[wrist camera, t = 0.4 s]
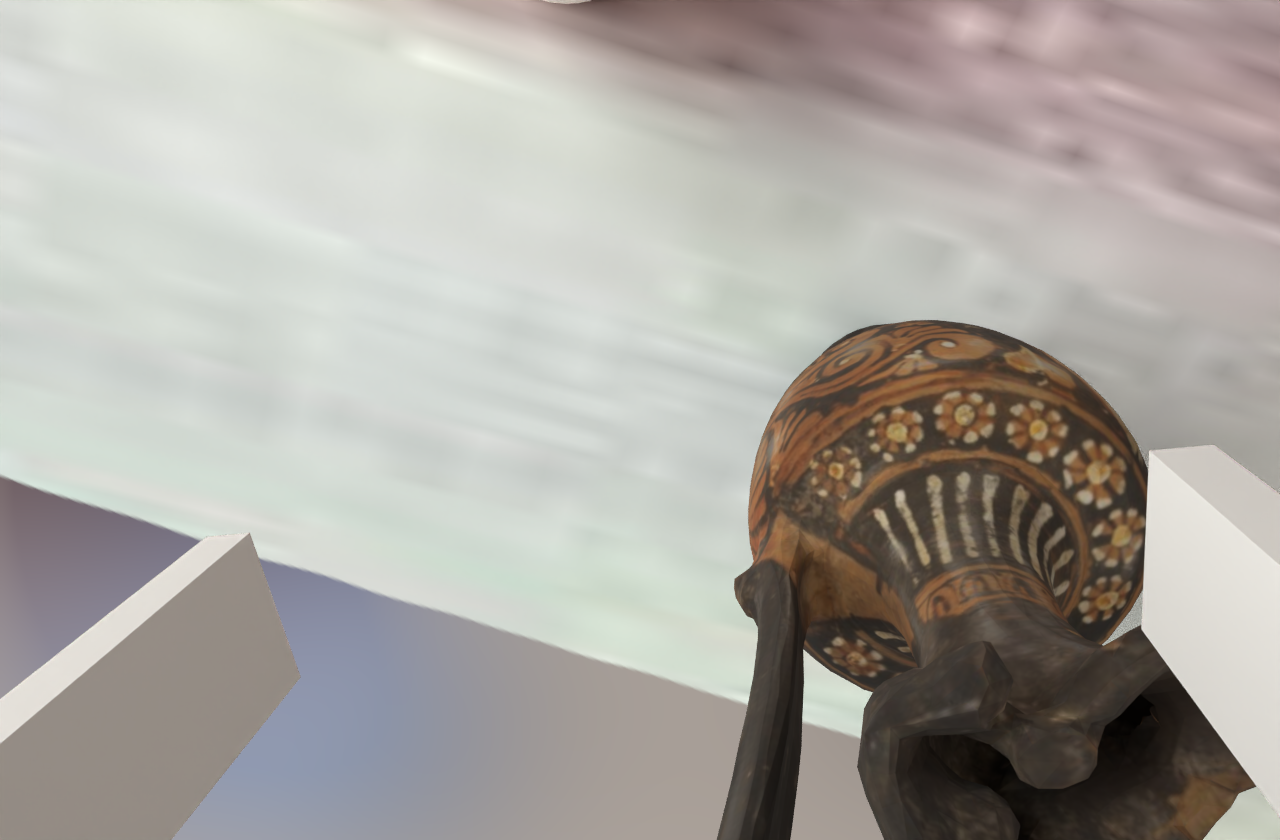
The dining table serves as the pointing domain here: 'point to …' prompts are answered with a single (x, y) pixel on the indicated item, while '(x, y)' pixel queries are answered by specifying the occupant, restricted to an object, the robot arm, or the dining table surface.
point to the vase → (965, 601)
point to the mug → (566, 1)
